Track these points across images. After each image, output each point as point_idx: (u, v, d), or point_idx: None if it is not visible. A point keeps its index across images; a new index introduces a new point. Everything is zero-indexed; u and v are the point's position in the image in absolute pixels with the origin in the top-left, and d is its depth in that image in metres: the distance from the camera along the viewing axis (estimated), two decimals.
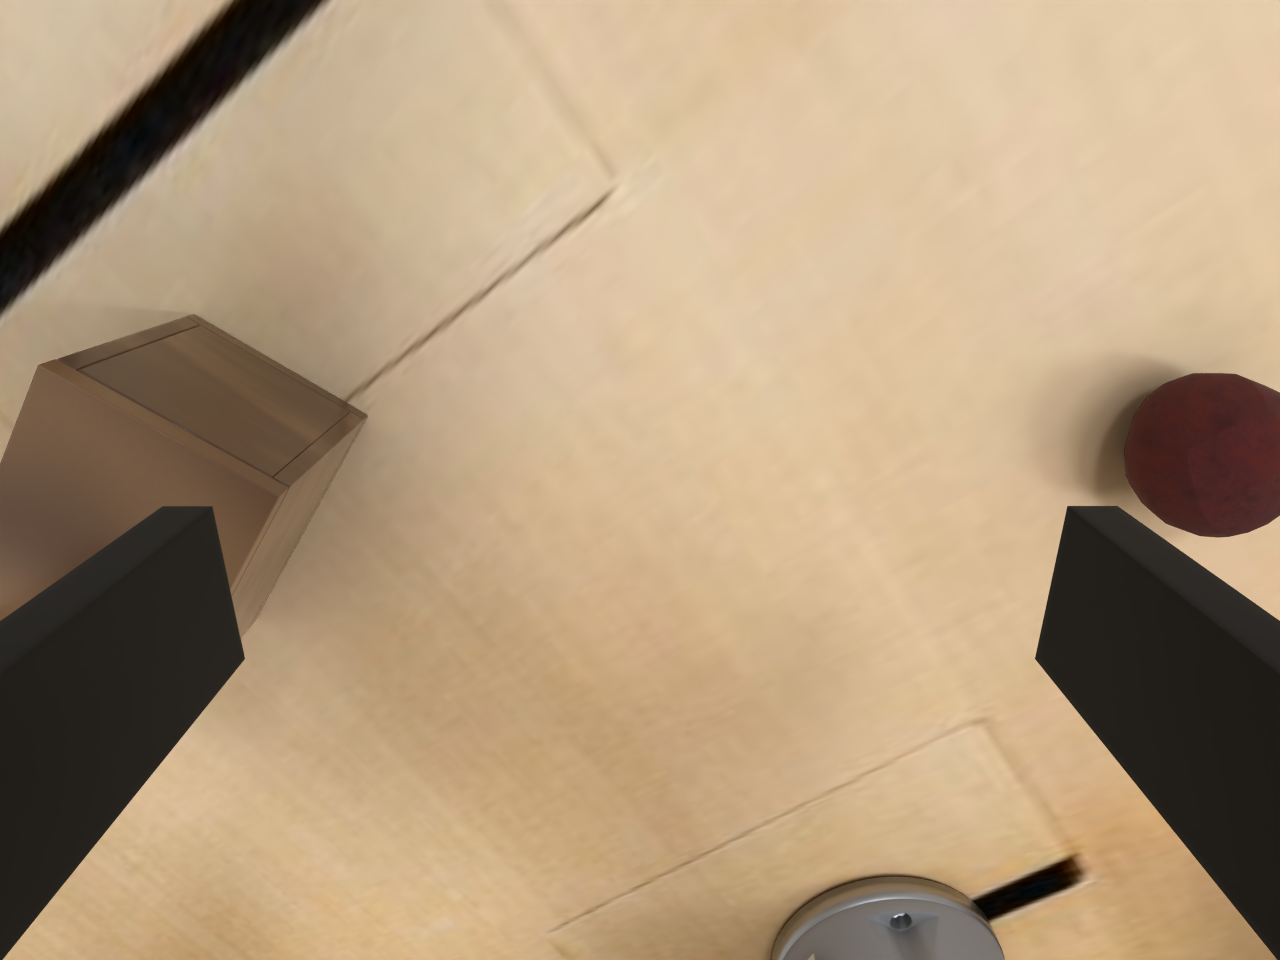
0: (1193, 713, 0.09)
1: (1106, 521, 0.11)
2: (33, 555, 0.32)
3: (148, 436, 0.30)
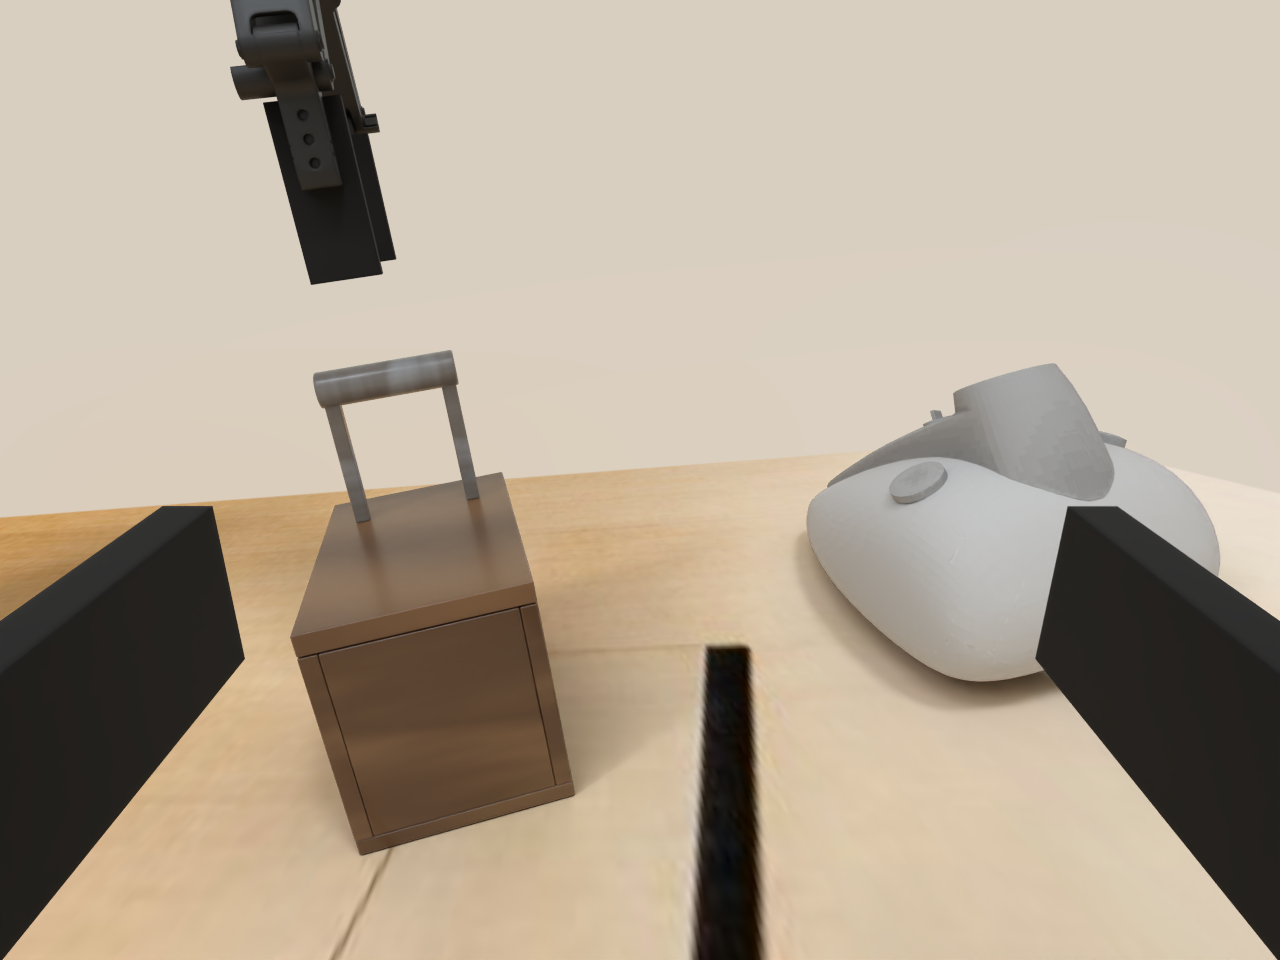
0: (1193, 713, 0.09)
1: (1106, 521, 0.11)
2: (467, 526, 0.39)
3: (424, 601, 0.32)
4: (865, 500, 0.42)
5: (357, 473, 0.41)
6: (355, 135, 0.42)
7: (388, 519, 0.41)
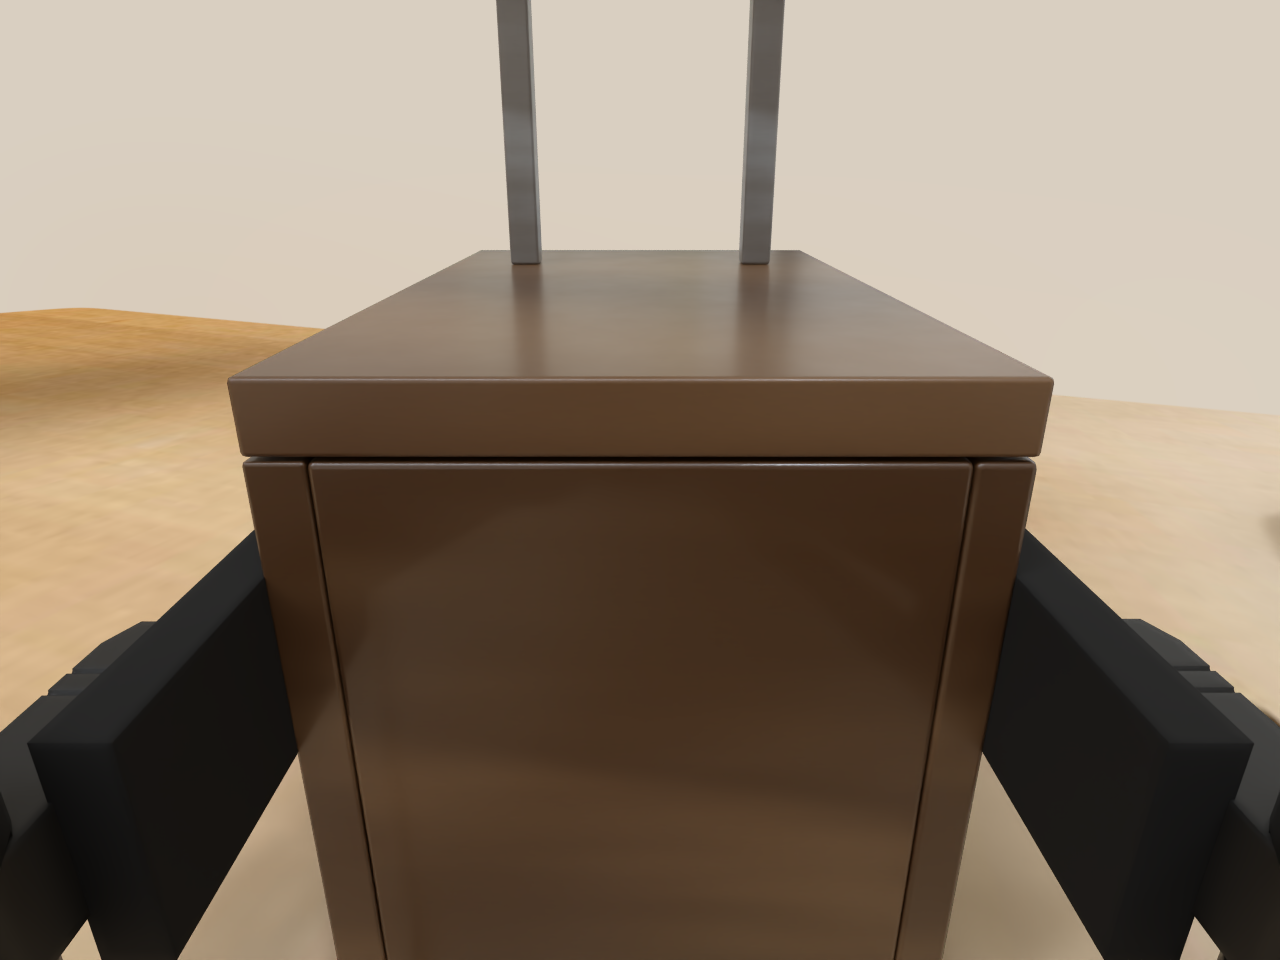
0: None
1: None
2: (758, 285, 0.16)
3: (672, 369, 0.09)
4: None
5: (533, 151, 0.19)
6: None
7: (577, 267, 0.19)
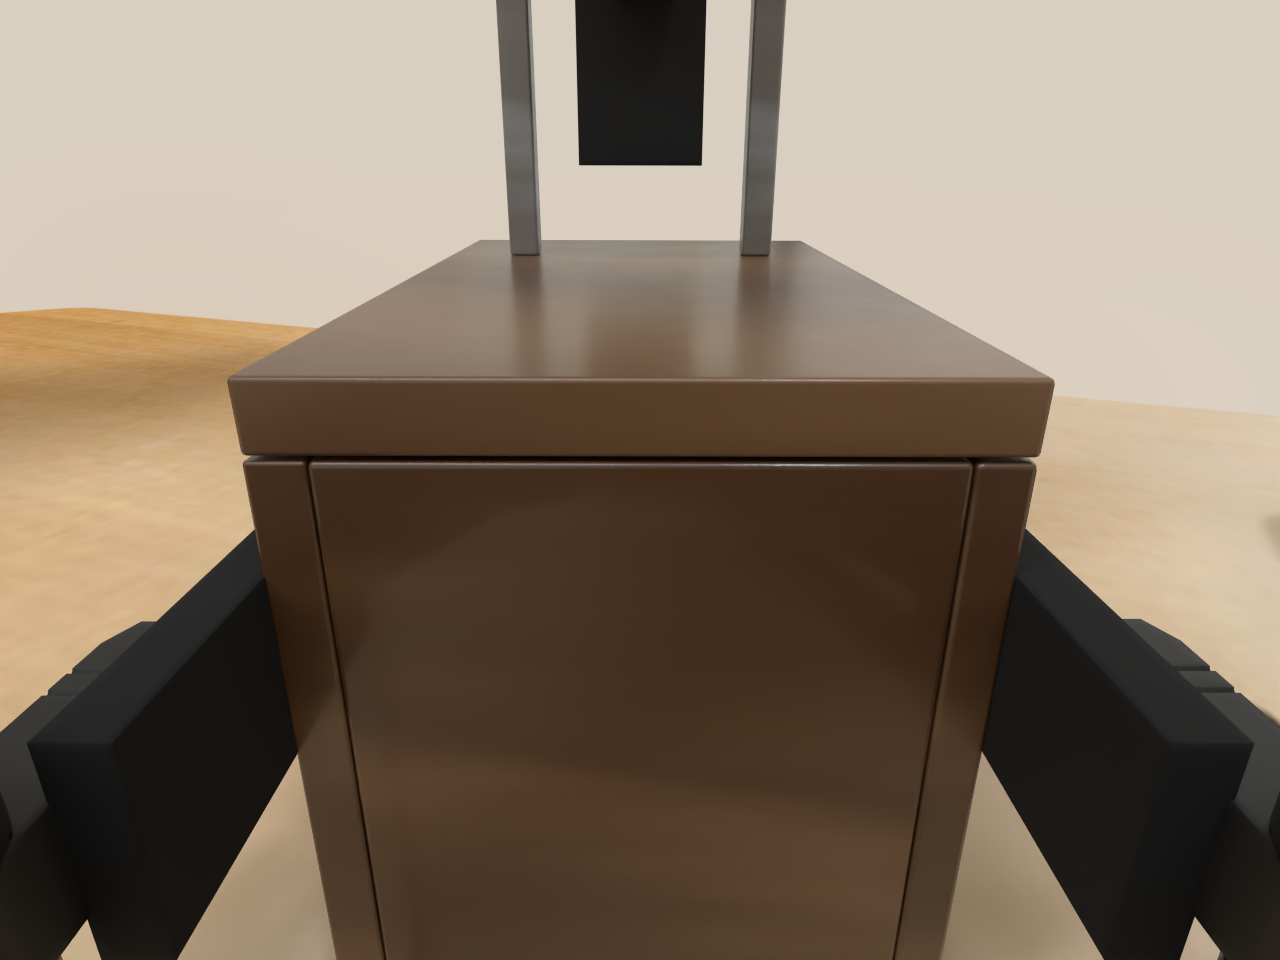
0: (1000, 655, 0.10)
1: None
2: (759, 279, 0.16)
3: (673, 368, 0.09)
4: None
5: (533, 141, 0.19)
6: None
7: (576, 258, 0.19)
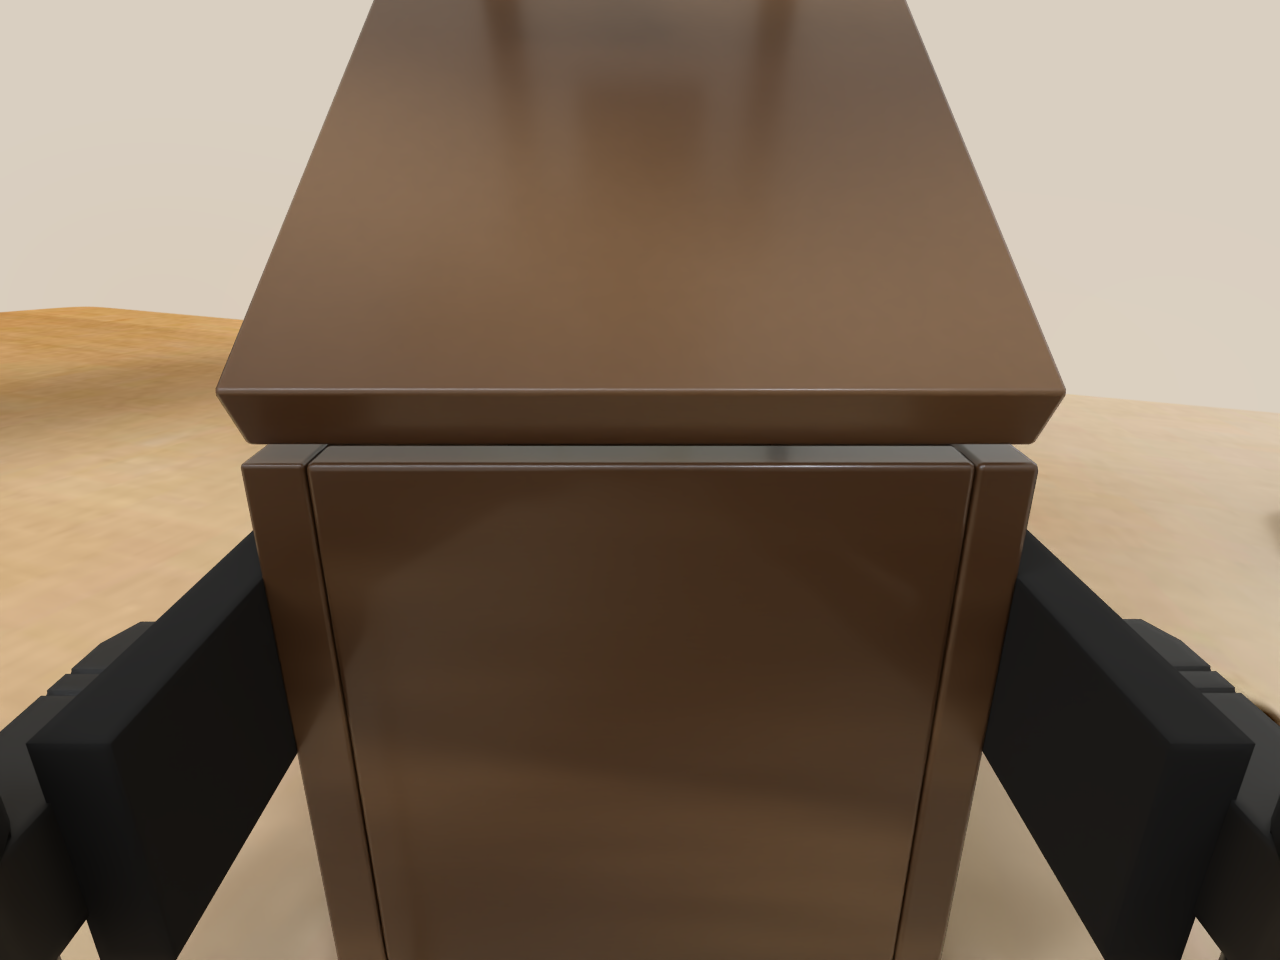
0: None
1: None
2: (785, 42, 0.13)
3: (674, 363, 0.09)
4: None
5: None
6: None
7: None
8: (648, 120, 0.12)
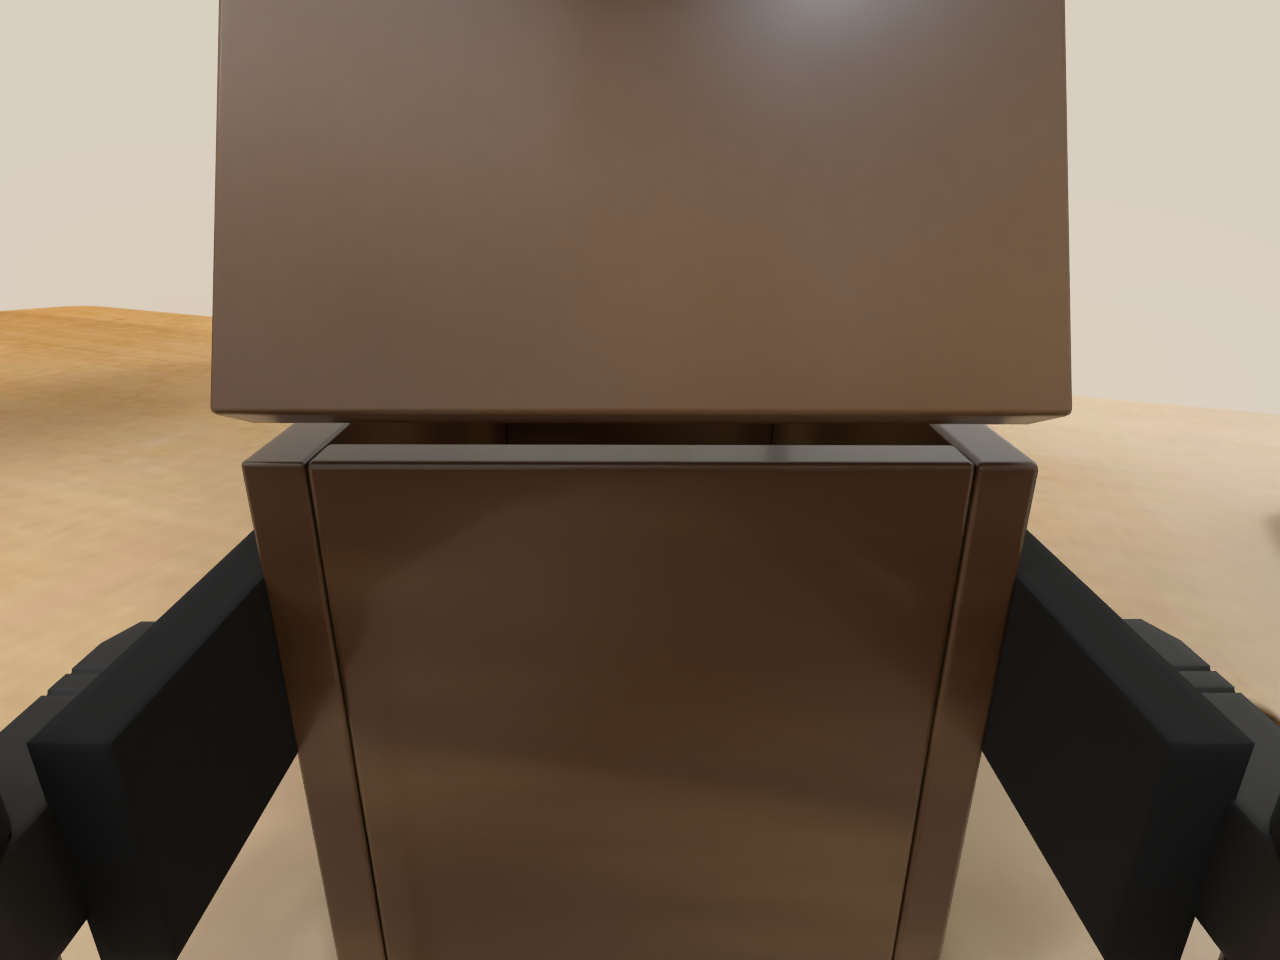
0: None
1: None
2: None
3: (676, 375, 0.09)
4: None
5: None
6: None
7: None
8: None
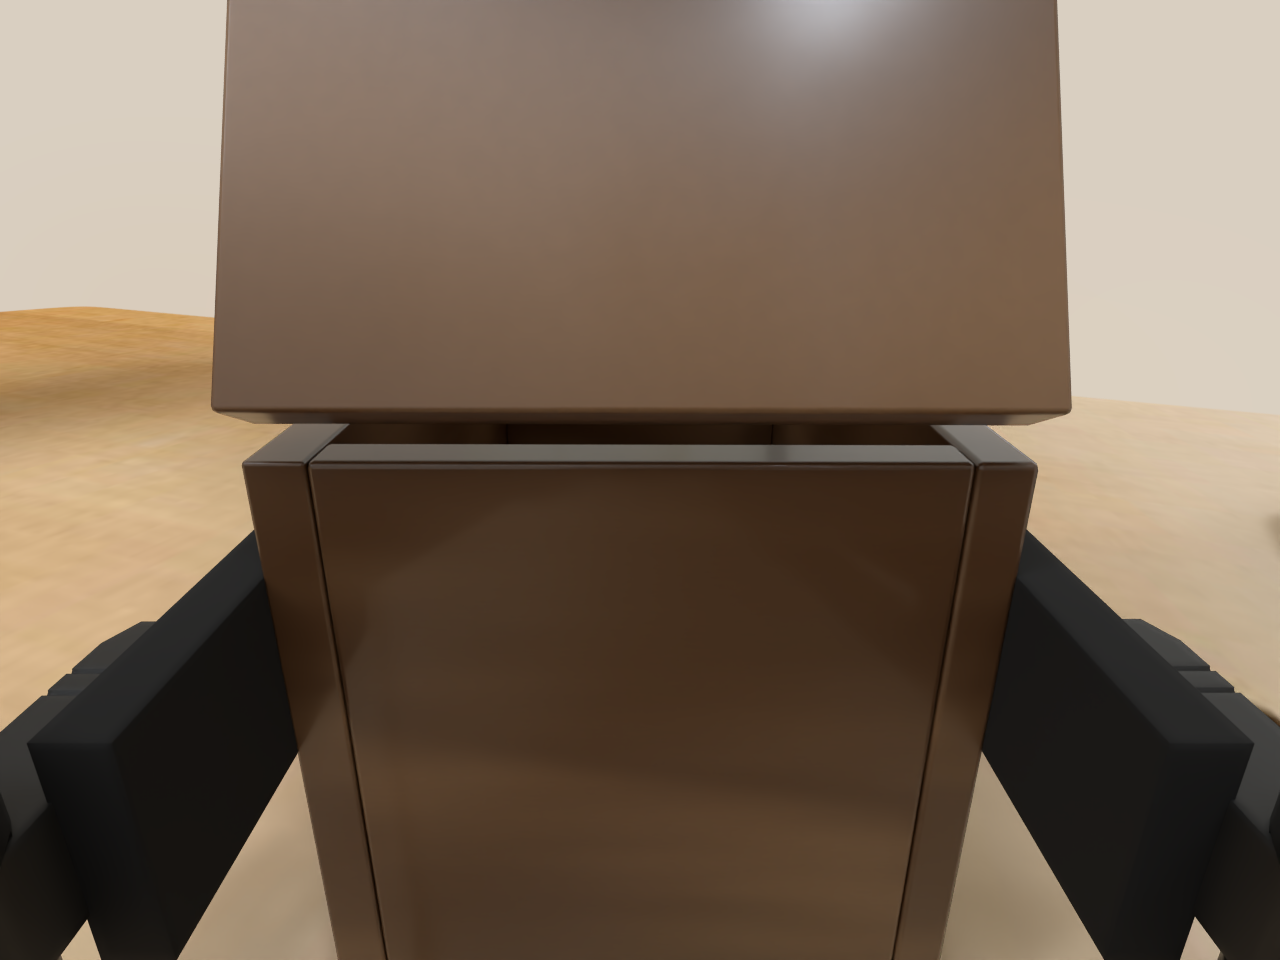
0: None
1: None
2: None
3: (676, 373, 0.09)
4: None
5: None
6: None
7: None
8: None
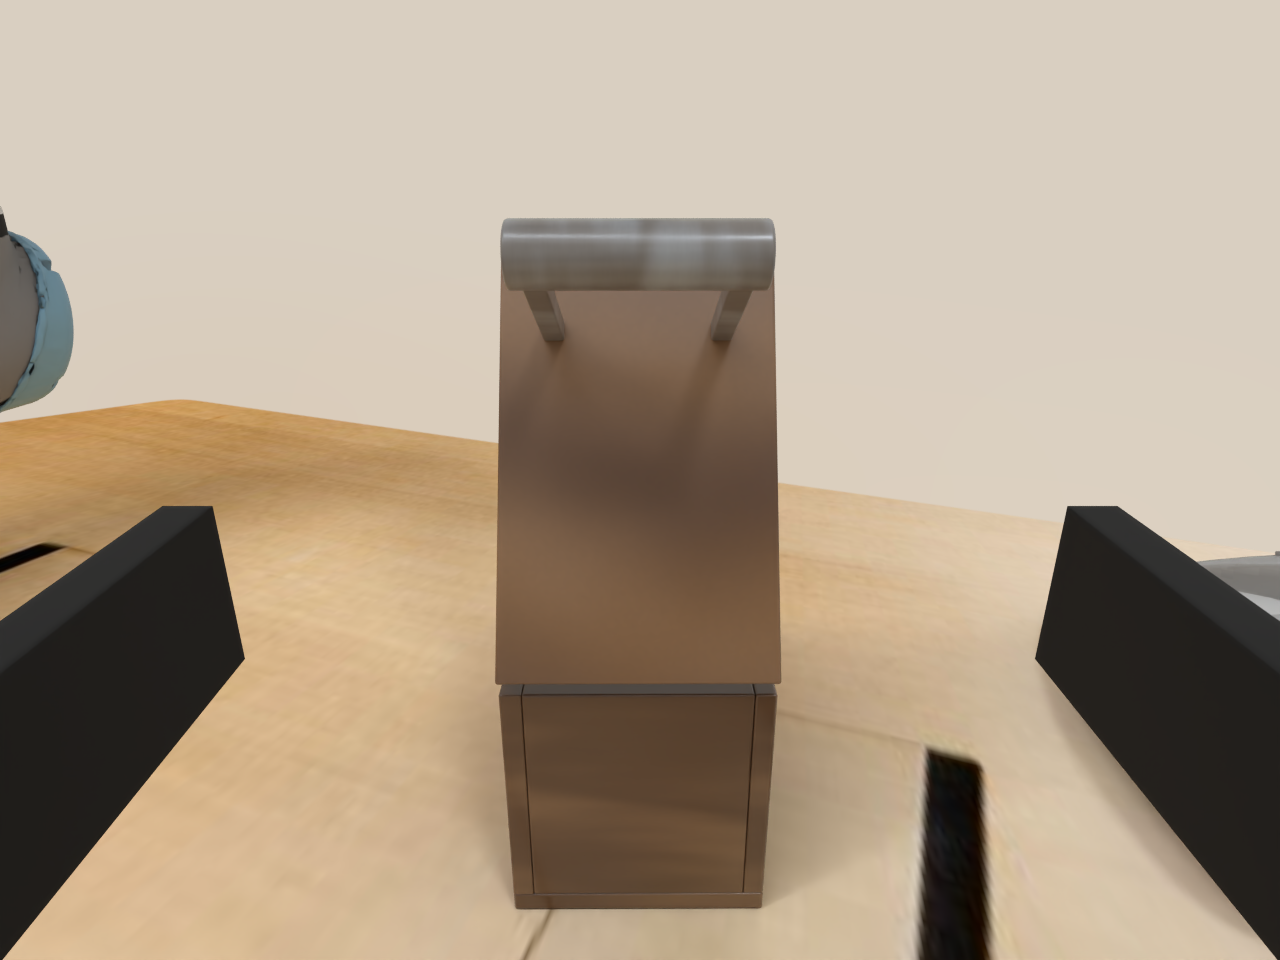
0: (1194, 713, 0.09)
1: (1106, 521, 0.11)
2: (708, 452, 0.27)
3: (649, 671, 0.26)
4: None
5: (556, 315, 0.25)
6: None
7: (592, 354, 0.27)
8: (641, 521, 0.27)
